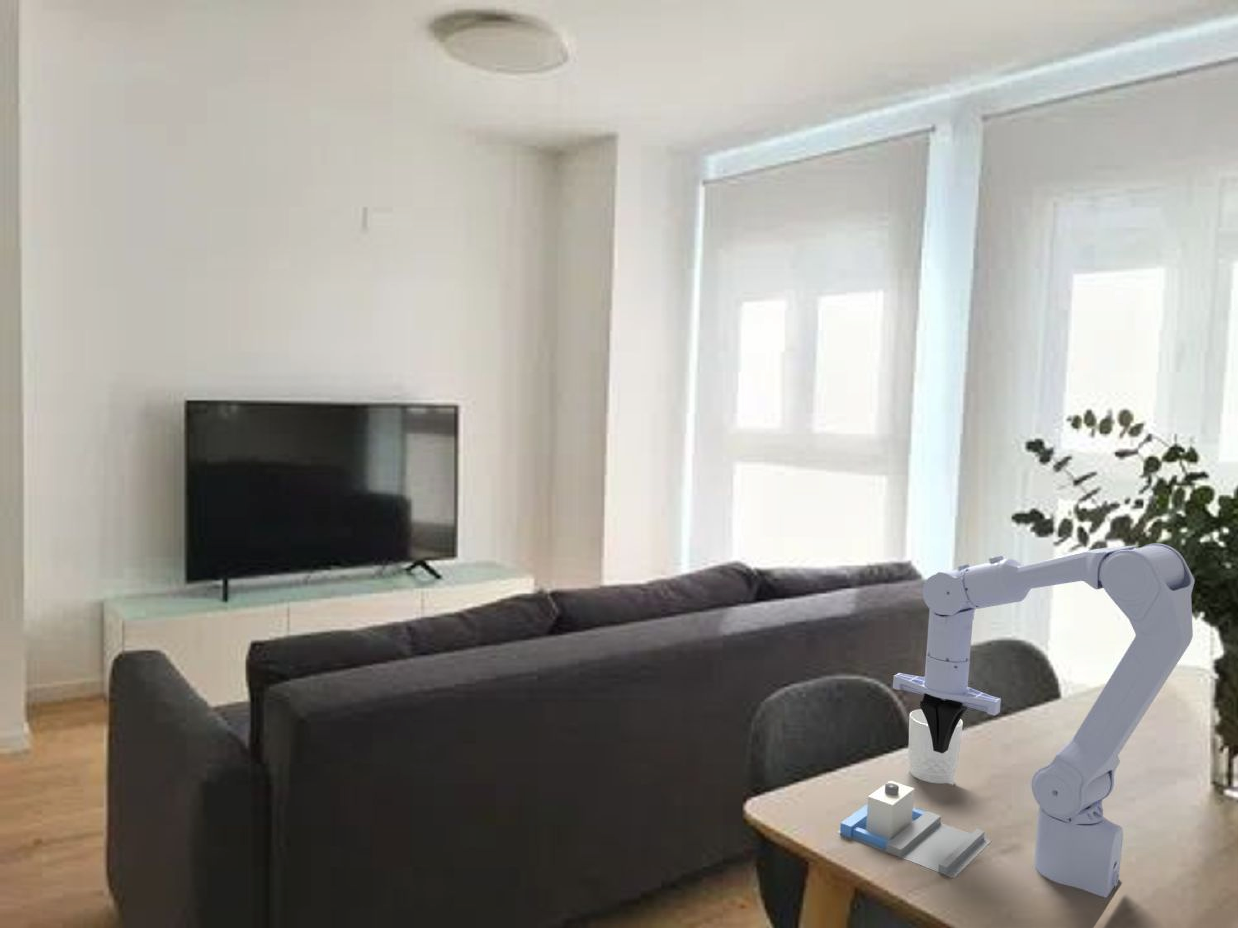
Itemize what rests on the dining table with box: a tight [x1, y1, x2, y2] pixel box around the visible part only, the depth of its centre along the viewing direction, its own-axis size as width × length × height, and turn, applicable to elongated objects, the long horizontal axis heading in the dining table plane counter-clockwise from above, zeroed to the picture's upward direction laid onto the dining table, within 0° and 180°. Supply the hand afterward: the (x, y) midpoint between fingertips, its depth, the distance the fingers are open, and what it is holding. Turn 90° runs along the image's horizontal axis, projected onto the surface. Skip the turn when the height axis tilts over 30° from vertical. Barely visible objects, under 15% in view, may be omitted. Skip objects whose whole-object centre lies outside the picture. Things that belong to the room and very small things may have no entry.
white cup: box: [908, 708, 964, 786], centre depth 144 cm, size 8×8×10 cm
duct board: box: [836, 803, 992, 879], centre depth 124 cm, size 16×13×2 cm
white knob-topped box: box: [866, 780, 915, 840], centre depth 126 cm, size 4×7×6 cm, turn 139°
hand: (940, 750), depth 130 cm, fingers closed
